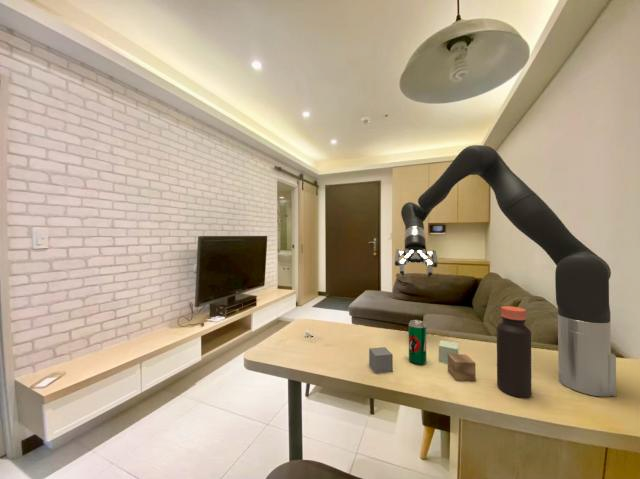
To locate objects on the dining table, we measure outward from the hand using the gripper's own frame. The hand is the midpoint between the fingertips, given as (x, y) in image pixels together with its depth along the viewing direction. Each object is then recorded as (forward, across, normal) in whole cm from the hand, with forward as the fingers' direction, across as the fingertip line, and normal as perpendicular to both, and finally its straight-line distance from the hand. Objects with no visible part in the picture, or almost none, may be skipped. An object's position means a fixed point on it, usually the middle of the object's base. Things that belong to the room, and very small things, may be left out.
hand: (415, 274), depth 88 cm
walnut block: (+29, +11, +6) cm, 32 cm away
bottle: (+32, +22, +3) cm, 39 cm away
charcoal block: (+31, -10, +4) cm, 33 cm away
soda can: (+26, 0, +10) cm, 27 cm away
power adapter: (+20, -37, +17) cm, 46 cm away
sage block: (+23, +9, +12) cm, 28 cm away
